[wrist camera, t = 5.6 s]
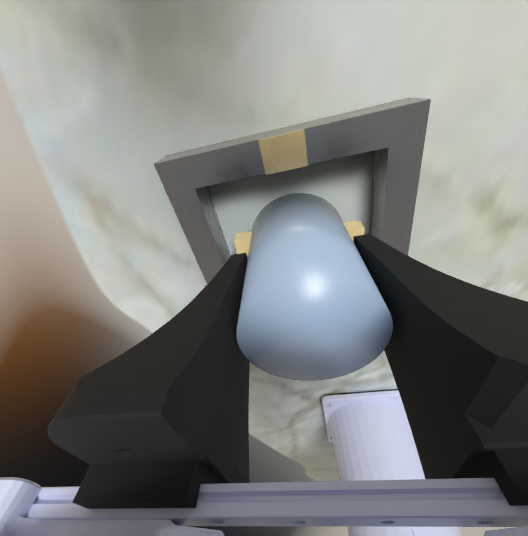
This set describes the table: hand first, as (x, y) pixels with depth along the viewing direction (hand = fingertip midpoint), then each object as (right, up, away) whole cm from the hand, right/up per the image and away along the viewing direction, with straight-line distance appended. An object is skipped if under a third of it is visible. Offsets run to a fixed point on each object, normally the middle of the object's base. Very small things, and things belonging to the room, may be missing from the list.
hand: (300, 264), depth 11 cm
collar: (0, +2, +2) cm, 3 cm away
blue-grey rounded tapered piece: (0, +1, +1) cm, 2 cm away
